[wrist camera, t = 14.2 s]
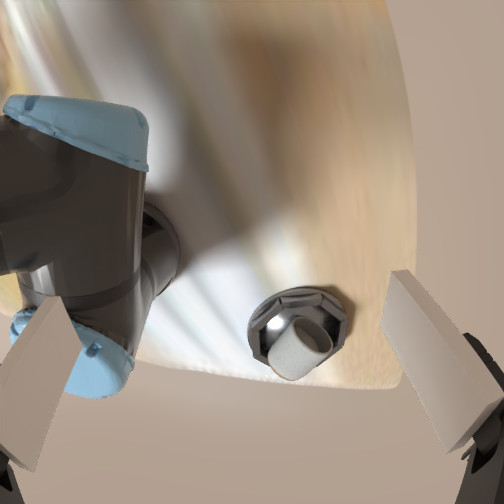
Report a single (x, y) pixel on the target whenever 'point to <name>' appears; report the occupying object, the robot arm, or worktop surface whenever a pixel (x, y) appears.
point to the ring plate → (289, 307)
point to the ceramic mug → (299, 349)
